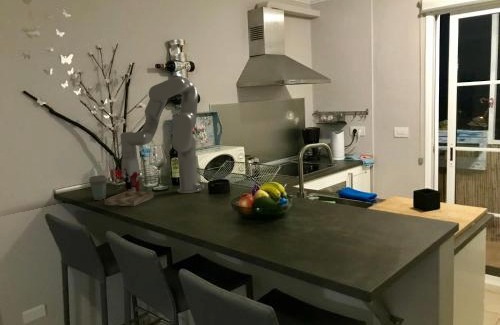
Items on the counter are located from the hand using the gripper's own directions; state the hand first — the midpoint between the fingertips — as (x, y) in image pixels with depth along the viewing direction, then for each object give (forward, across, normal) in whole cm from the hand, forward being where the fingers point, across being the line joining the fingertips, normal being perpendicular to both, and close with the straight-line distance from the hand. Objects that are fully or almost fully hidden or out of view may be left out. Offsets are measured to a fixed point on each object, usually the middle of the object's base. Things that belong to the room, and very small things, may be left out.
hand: (132, 187), depth 227 cm
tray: (+3, +16, +10) cm, 19 cm away
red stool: (+4, 0, 0) cm, 4 cm away
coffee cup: (+4, +15, -10) cm, 18 cm away
